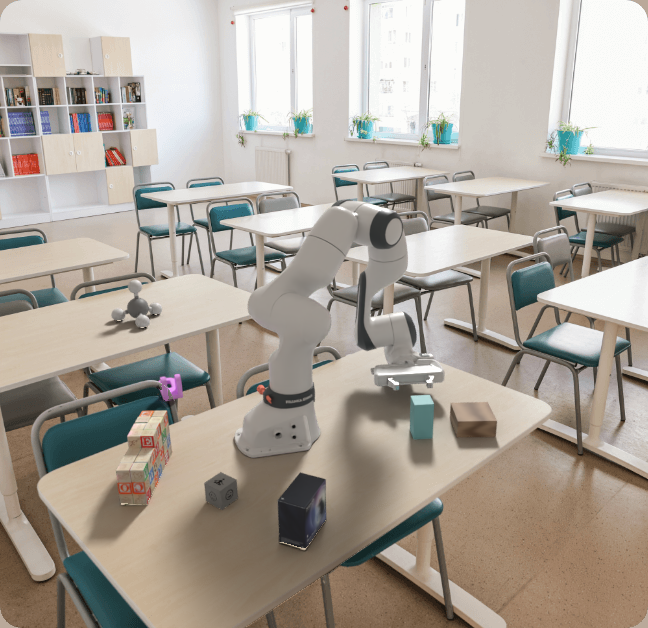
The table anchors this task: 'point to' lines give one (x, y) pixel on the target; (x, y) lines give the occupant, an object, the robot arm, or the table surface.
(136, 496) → the stack of blocks
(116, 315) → the molecule model
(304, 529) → the small box
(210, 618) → the table surface
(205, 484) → the dice cube
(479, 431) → the walnut base
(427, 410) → the teal pillar
